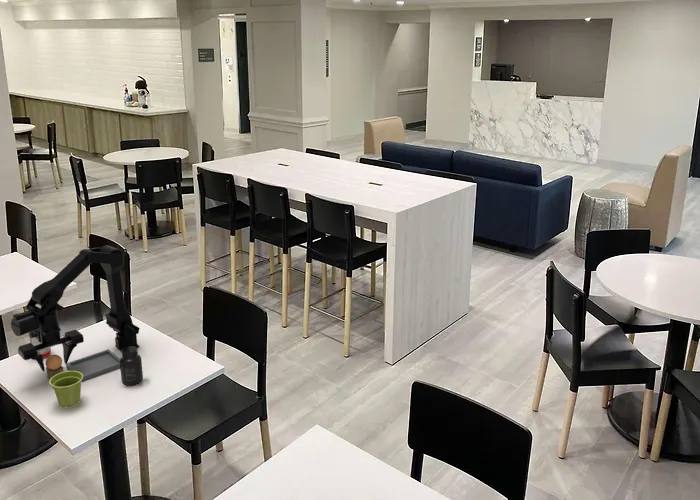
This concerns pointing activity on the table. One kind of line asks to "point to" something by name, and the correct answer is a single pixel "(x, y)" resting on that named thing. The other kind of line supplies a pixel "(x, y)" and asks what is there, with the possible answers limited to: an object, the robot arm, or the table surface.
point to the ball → (53, 362)
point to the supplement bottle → (131, 366)
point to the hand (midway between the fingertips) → (54, 367)
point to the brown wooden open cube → (53, 372)
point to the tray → (95, 364)
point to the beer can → (43, 352)
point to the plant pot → (67, 387)
